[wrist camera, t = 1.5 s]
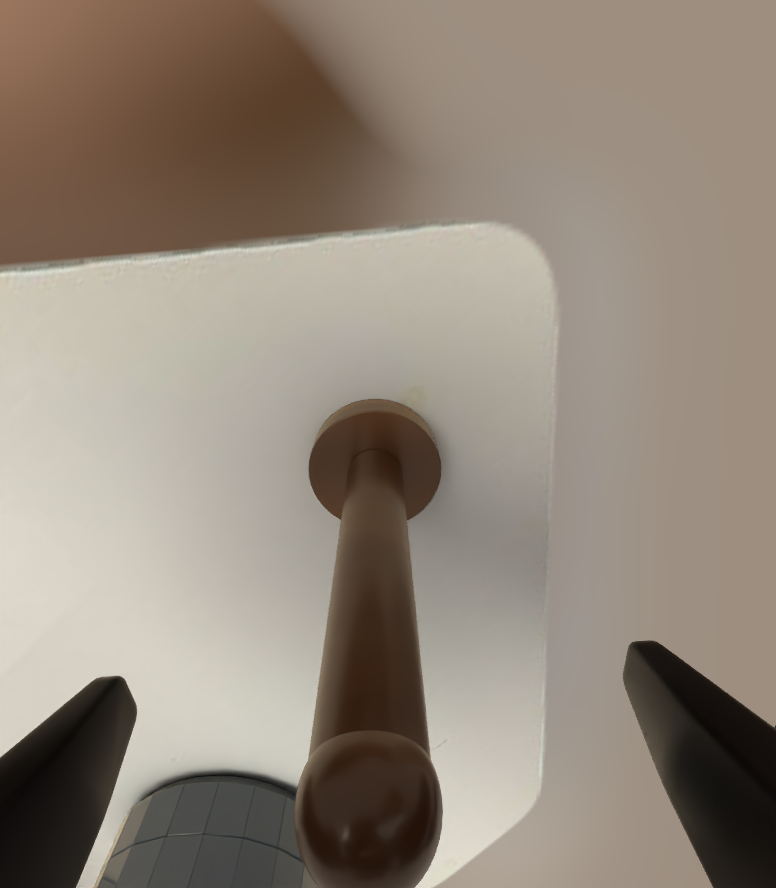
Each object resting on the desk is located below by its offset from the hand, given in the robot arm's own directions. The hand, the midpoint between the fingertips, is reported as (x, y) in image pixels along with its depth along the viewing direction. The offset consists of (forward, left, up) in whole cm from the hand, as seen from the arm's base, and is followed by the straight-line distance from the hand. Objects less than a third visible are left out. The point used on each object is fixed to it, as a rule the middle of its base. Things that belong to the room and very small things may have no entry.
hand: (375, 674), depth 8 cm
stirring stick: (0, 0, -9) cm, 9 cm away
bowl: (-23, +10, -9) cm, 26 cm away
